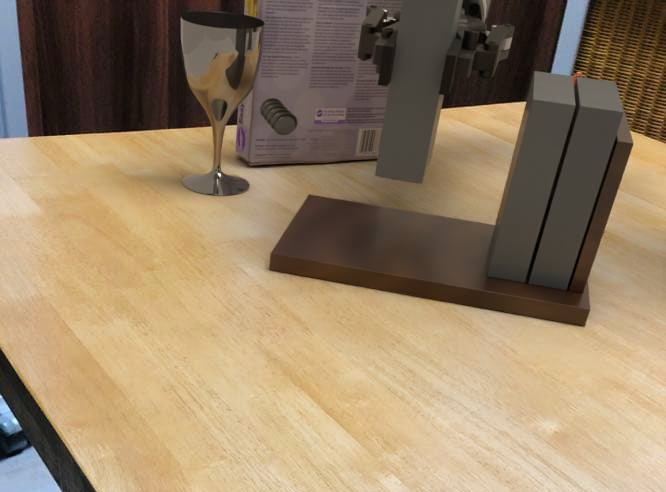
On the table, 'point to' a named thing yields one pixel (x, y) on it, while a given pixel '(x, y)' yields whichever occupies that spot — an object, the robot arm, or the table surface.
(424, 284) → the book rack
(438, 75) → the grey book
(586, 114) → the matching books
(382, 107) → the cake pan box
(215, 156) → the wine glass
